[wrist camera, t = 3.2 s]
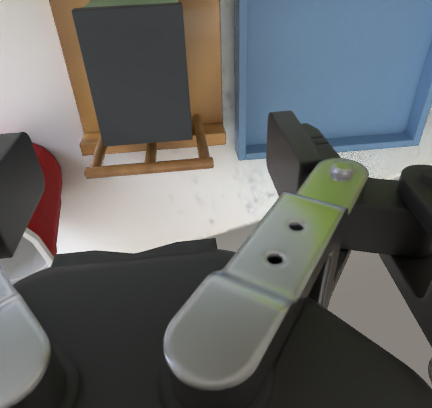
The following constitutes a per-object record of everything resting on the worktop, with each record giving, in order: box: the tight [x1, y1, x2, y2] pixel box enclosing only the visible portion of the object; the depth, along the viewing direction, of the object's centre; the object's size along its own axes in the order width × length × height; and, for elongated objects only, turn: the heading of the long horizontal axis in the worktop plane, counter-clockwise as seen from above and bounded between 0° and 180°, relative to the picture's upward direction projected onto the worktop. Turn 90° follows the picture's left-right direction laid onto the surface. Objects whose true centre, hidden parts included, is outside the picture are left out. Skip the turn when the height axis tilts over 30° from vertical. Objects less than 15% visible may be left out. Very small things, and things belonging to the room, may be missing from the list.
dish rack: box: [49, 0, 226, 179], centre depth 24 cm, size 11×13×9 cm
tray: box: [235, 0, 432, 160], centre depth 28 cm, size 16×13×2 cm
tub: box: [71, 0, 193, 147], centre depth 24 cm, size 6×8×6 cm
